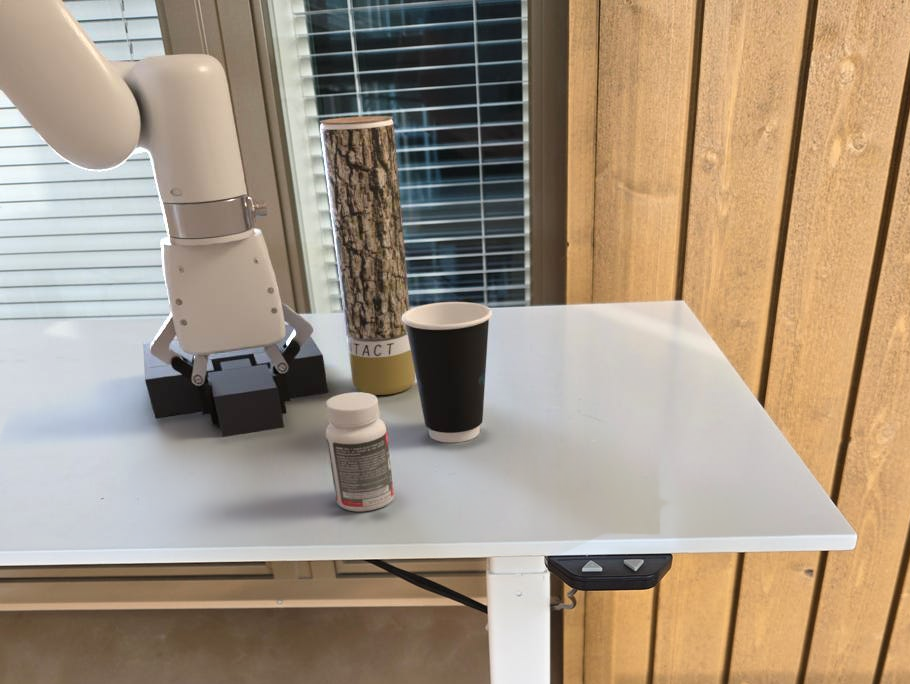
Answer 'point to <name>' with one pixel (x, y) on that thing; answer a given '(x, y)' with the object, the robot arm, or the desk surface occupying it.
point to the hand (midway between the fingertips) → (248, 412)
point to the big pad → (181, 394)
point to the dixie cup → (450, 366)
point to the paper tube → (369, 249)
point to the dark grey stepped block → (245, 398)
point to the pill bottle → (358, 452)
